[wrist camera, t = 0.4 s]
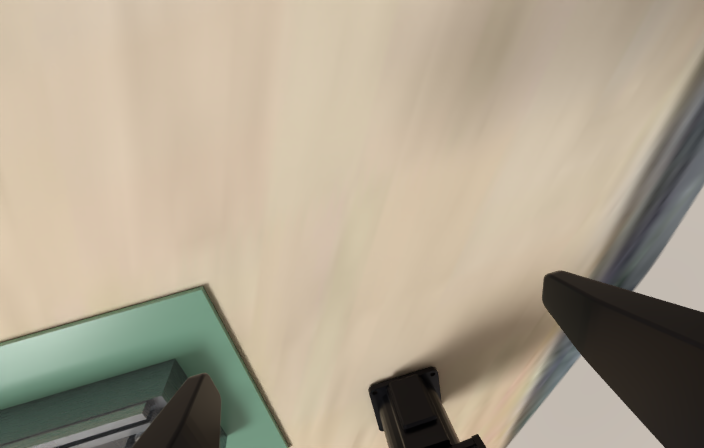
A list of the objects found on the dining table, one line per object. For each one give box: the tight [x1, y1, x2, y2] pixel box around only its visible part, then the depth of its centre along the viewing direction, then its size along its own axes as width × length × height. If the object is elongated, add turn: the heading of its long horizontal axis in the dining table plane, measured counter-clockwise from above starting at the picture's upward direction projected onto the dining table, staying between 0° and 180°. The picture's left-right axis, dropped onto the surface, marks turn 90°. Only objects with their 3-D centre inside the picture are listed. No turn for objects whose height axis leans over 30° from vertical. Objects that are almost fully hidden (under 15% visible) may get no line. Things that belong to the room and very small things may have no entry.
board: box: [0, 286, 289, 448], centre depth 25 cm, size 20×24×1 cm
